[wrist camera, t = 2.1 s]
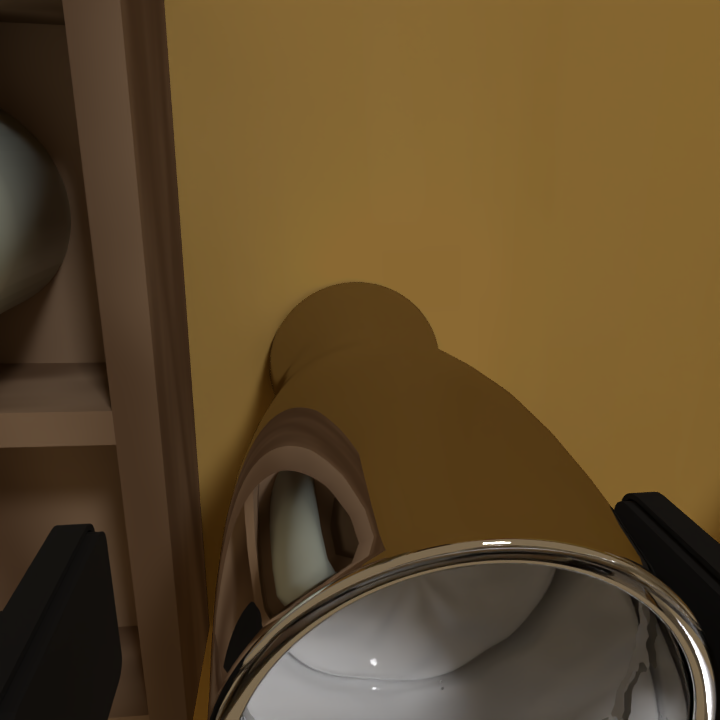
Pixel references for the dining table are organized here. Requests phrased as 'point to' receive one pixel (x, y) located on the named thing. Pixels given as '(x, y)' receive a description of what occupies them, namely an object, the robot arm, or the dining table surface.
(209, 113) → the dining table surface
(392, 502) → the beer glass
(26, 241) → the grey rounded piece
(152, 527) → the carrier
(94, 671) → the robot arm
